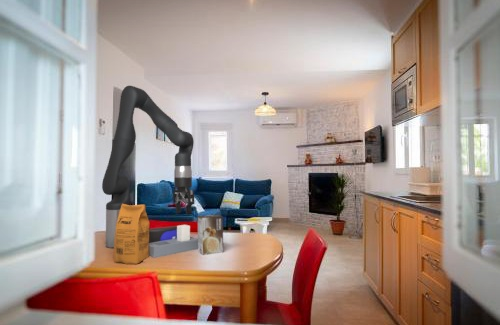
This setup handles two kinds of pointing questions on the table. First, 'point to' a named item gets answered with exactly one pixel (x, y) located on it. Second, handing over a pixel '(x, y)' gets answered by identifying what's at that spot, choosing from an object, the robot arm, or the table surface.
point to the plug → (183, 233)
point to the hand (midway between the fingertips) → (183, 213)
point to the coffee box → (210, 234)
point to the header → (171, 247)
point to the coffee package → (131, 235)
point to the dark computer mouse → (162, 234)
